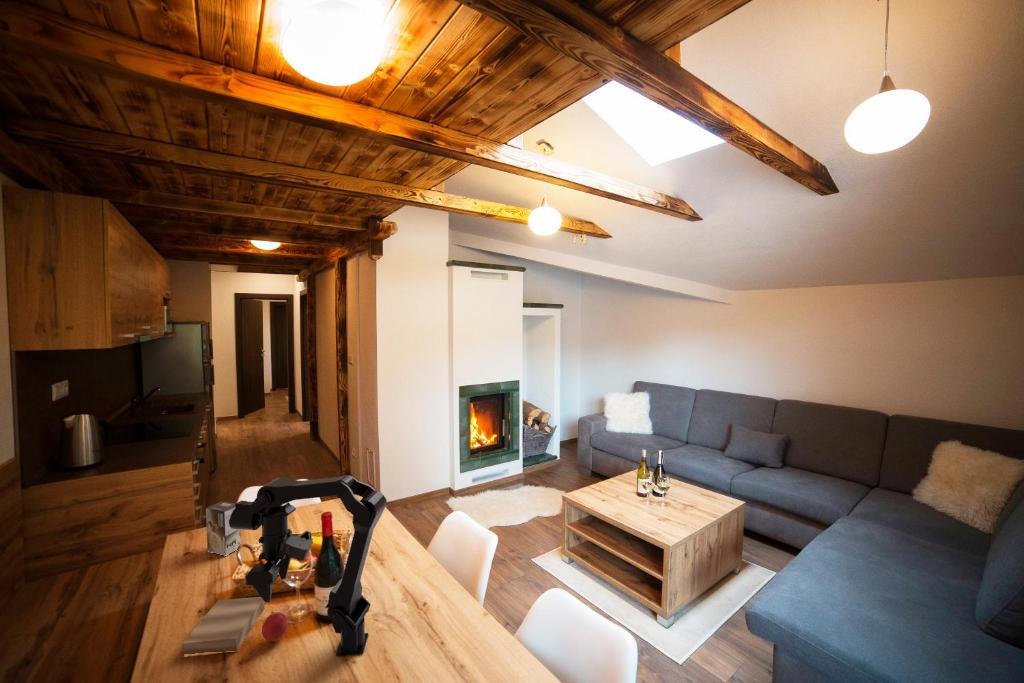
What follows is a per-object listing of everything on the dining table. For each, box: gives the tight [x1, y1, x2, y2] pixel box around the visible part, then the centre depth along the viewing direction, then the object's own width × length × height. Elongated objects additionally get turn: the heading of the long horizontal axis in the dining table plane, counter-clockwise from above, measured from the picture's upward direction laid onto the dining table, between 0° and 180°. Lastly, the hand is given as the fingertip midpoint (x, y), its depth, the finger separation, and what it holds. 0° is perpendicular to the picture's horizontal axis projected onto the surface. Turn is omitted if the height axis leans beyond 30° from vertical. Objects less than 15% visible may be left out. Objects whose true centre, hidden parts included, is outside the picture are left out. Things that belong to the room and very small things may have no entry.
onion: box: [261, 610, 289, 643], centre depth 108 cm, size 6×6×8 cm
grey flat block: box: [182, 596, 266, 655], centre depth 111 cm, size 16×12×4 cm
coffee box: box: [205, 500, 242, 555], centre depth 150 cm, size 9×6×16 cm
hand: (275, 589), depth 108 cm, fingers open, 9 cm apart
